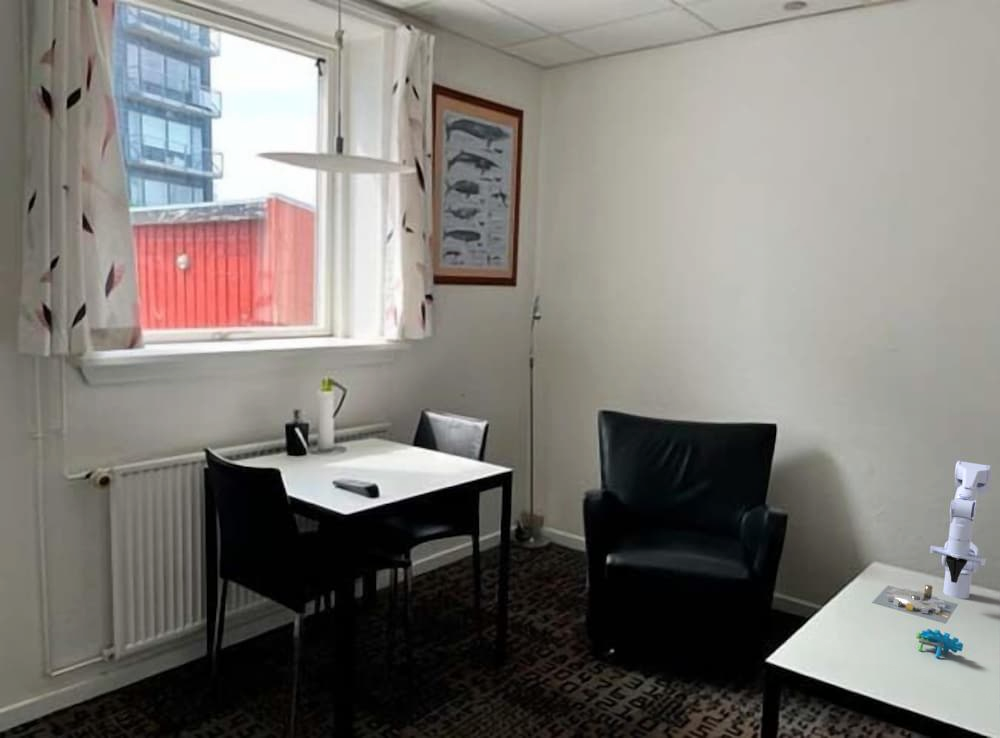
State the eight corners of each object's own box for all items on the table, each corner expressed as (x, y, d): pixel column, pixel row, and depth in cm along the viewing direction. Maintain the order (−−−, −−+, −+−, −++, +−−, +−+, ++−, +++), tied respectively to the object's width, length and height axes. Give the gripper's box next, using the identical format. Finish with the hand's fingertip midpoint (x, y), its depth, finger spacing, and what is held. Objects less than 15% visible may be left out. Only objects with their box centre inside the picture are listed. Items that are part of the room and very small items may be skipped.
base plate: (887, 588, 252) (888, 585, 252) (957, 607, 239) (957, 603, 239) (871, 605, 237) (871, 602, 236) (944, 626, 224) (945, 623, 224)
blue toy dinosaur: (968, 651, 205) (958, 631, 200) (963, 671, 202) (953, 652, 197) (923, 641, 213) (912, 622, 208) (918, 660, 210) (907, 641, 206)
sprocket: (893, 588, 249) (894, 573, 248) (949, 603, 239) (951, 588, 238) (880, 602, 237) (882, 586, 236) (939, 618, 227) (941, 602, 226)
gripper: (929, 535, 235) (924, 578, 236) (985, 547, 226) (979, 592, 227) (934, 530, 240) (929, 572, 242) (989, 542, 231) (983, 585, 232)
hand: (954, 581), depth 235 cm, fingers closed
